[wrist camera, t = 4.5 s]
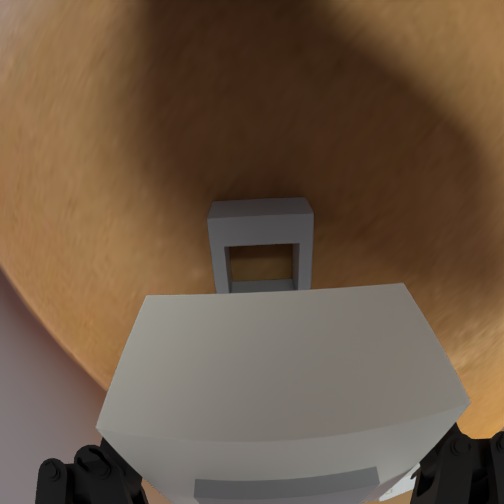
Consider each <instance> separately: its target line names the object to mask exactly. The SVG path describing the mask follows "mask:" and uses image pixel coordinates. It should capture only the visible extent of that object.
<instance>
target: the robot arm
mask: <svg viewBox="0 0 504 504" xmlns="http://www.w3.org/2000/svg"><path fill="white" fill-rule="evenodd" d="M419 464H420V467H419V468H418V469H417V470H416V471H415V472H414V473H413V474H412V476H411V478H410V479H414V478H415V477H416V480H415V485H414V489H413V493H412V497H411V501H410V504H504V431H500V432H498V433H496V434H495V435H494V436H493V437H492V438H490V439H471V438H470V437H468V436H467V435H466V434H462V433H461V431H460V430H459V428H458V426H457V423H456V422H455V423H454V424H453V426H452V427H451V428H450V429H449V430H448V432H447V433H446V434H445V435H444V436H443V437H442V438H441V439H440V441H439V442H438V443H437V444H436V445H435V446H434V447H433V448H432V449H431V450H430V451H429V452H428V453H427V455H426V456H425V457H424V458H423V459H422V460H421V461H420V462H419ZM141 482H142V476H141V475H140V474H139V473H138V472H137V471H135V470H134V469H133V468H132V467H131V466H130V465H129V464H128V463H127V462H126V461H125V460H124V459H123V458H122V457H121V456H120V454H119V453H118V452H117V451H116V450H115V449H114V448H113V447H112V446H111V445H110V444H109V443H108V442H107V441H106V439H105V438H104V437H103V438H102V441H101V445H100V447H99V446H96V445H86V446H84V447H82V448H81V449H79V450H78V451H77V453H76V455H75V457H74V464H64V463H63V462H61V461H60V460H58V459H55V458H50V459H47V460H45V461H44V462H43V463H42V464H41V466H40V469H39V473H38V481H37V490H36V500H35V504H148V500H147V498H146V494H145V491H144V489H143V487H142V486H141Z"/></svg>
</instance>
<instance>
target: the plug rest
mask: <svg viewBox="0 0 504 504" xmlns="http://www.w3.org/2000/svg"><path fill="white" fill-rule="evenodd" d="M207 225H208V233H209V241H210V249H211V257H212V265H213V272H214V280H215V287H216V294H228V293H255V292H277V291H296V290H311V274H312V254H313V230H314V213H313V211H312V209H311V207H310V205H309V203H308V201H307V200H306V198H305V197H291V198H266V199H246V200H229V201H213V202H212V204H211V207H210V211H209V214H208V217H207ZM287 243H293V268H292V279H276V280H256V281H235V282H232V273H231V263H230V253H229V246H247V245H267V244H287Z"/></svg>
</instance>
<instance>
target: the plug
mask: <svg viewBox="0 0 504 504" xmlns="http://www.w3.org/2000/svg"><path fill="white" fill-rule="evenodd" d="M470 403H471V401H470V399H469V397H468V395H467V393H466V391H465V389H464V387H463V385H462V383H461V381H460V379H459V377H458V375H457V373H456V371H455V370H454V368H453V366H452V364H451V362H450V360H449V358H448V356H447V355H446V353H445V351H444V349H443V347H442V346H441V344H440V342H439V340H438V339H437V337H436V335H435V333H434V332H433V330H432V328H431V327H430V325H429V323H428V321H427V320H426V318H425V316H424V315H423V313H422V312H421V310H420V308H419V307H418V305H417V303H416V302H415V300H414V299H413V297H412V295H411V294H410V292H409V291H408V289H407V288H406V286H405V285H404V283H394V284H383V285H370V286H357V287H344V288H329V289H313V290H296V291H277V292H255V293H228V294H193V295H146V297H145V300H144V302H143V304H142V306H141V309H140V311H139V313H138V316H137V318H136V321H135V323H134V325H133V328H132V330H131V333H130V335H129V338H128V340H127V343H126V345H125V348H124V350H123V353H122V355H121V358H120V360H119V363H118V366H117V368H116V371H115V373H114V376H113V379H112V382H111V384H110V387H109V390H108V393H107V396H106V398H105V401H104V404H103V407H102V410H101V413H100V416H99V419H98V422H97V425H96V429H97V430H98V431H99V433H100V434H101V435H102V436H103V437H104V438H105V439H106V441H107V442H108V443H109V444H110V445H111V446H112V447H113V448H114V449H115V450H116V451H117V452H118V453H119V454H120V456H121V457H122V458H123V459H124V460H125V461H126V462H127V463H128V464H129V465H130V466H131V467H132V468H133V469H134V470H135V471H137V472H138V473H139V474H140V475H141V476H142V477H143V478H144V479H145V480H146V481H147V482H149V484H151V485H152V486H153V487H154V488H155V489H156V490H157V491H159V492H160V493H161V494H162V495H163V496H164V497H165V498H167V499H168V500H169V501H170V502H172V503H173V504H361V503H365V502H370V501H374V500H377V499H379V498H380V497H381V496H382V495H384V494H385V493H386V492H387V491H388V490H389V489H391V488H392V487H393V486H394V485H395V484H396V483H397V482H399V481H400V480H401V479H402V478H403V477H404V476H405V475H406V474H407V473H408V472H409V471H410V470H411V469H413V468H414V467H415V466H416V465H417V464H418V463H419V462H420V461H421V460H422V459H423V458H424V457H425V456H426V455H427V453H428V452H429V451H430V450H431V449H432V448H433V447H434V446H435V445H436V444H437V443H438V442H439V441H440V439H441V438H442V437H443V436H444V435H445V434H446V433H447V432H448V430H449V429H450V428H451V427H452V426H453V424H454V423H455V422H456V421H457V420H458V418H459V417H460V416H461V415H462V413H463V412H464V411H465V410H466V408H467V407H468V406H469V404H470Z"/></svg>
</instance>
